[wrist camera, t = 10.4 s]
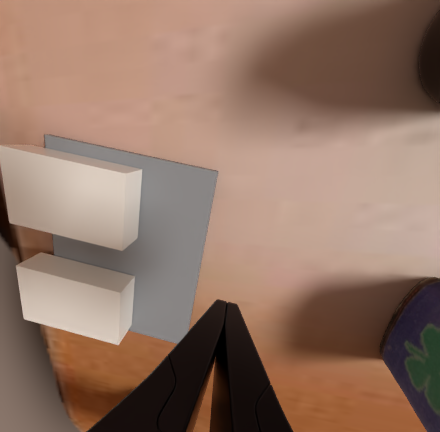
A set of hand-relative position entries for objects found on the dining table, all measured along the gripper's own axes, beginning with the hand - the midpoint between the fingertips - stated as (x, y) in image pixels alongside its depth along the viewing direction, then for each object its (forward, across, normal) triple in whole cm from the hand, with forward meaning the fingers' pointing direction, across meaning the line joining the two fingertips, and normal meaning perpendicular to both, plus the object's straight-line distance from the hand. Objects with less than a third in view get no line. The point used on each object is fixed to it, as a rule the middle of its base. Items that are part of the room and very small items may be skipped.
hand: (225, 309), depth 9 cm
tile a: (+8, +8, +10) cm, 15 cm away
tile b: (+8, +8, 0) cm, 11 cm away
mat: (+10, +10, +5) cm, 15 cm away
